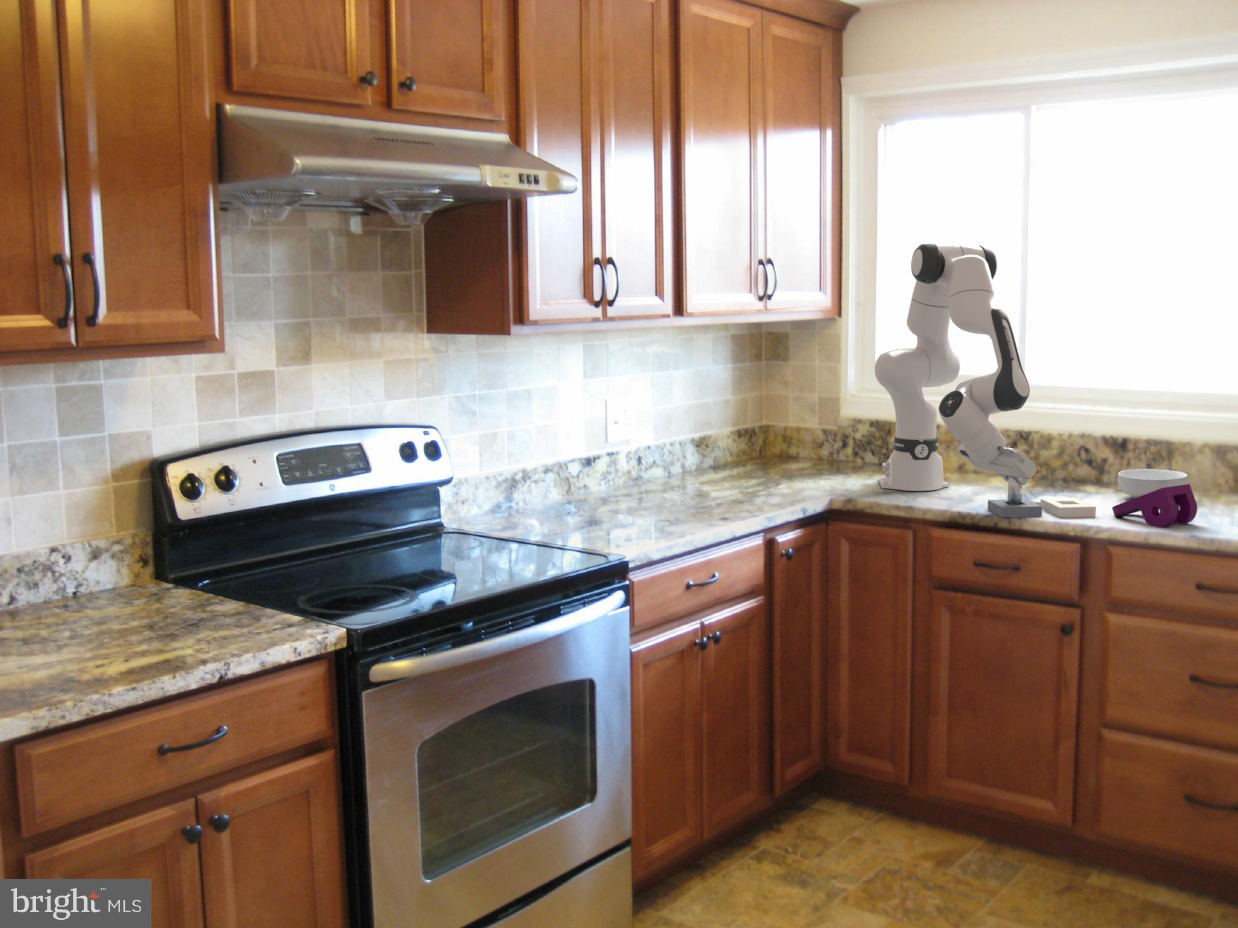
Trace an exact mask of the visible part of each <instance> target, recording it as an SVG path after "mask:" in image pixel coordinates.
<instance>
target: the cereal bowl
mask: <svg viewBox="0 0 1238 928" xmlns="http://www.w3.org/2000/svg"><path fill="white" fill-rule="evenodd" d="M1188 480H1189V477H1188V474H1187V473H1185V472H1183V471H1177V470H1170V469H1158V468H1157V469H1155V468H1154V469H1153V468H1151V469H1150V468H1141V469H1140V468H1136V469H1135V468H1134V469H1126V470H1120V471H1119V472H1118V474H1117V483H1118V487H1119V488H1120V490H1121V491H1122V492H1123V493H1124V494H1125V495H1127V496H1129V497H1132V498H1133V499H1134V498H1137V497H1140V496H1142V495H1145V494H1148V493H1150V492H1153V491H1156V490H1158V489H1161V488H1165V487H1172V486H1179V485H1186V484H1188V482H1189V481H1188Z"/></svg>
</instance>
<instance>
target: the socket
mask: <svg viewBox="0 0 1238 928" xmlns="http://www.w3.org/2000/svg"><path fill="white" fill-rule="evenodd" d="M1007 501H1008V498H1007V499H987V511H989V512H991V513H993V514H995V515H997V516H998V517H1001V518H1018V517H1019V518H1024V517H1025V518H1027V517H1028V518H1029V517H1033V518H1034V517H1035V518H1036V517H1043V510H1042V506H1040V505H1038V504H1036V503H1034V502H1035V501H1032V500H1029V499H1027V498H1022V505H1008V504H1007Z"/></svg>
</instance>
